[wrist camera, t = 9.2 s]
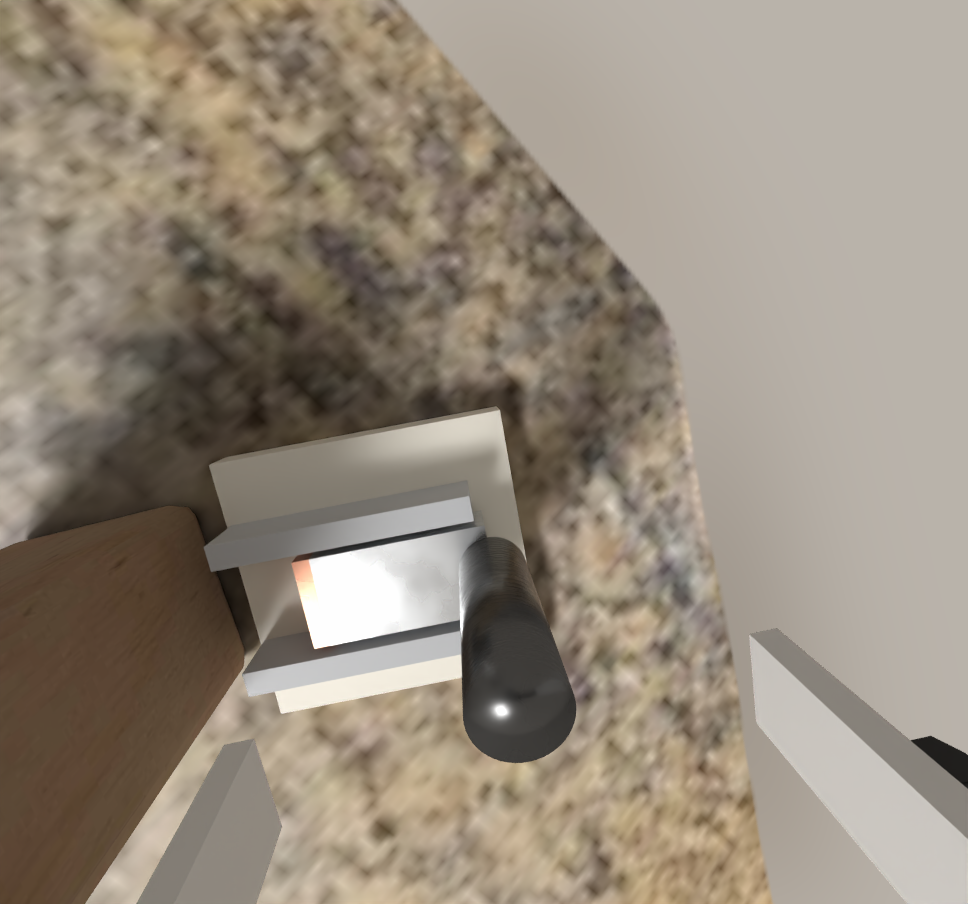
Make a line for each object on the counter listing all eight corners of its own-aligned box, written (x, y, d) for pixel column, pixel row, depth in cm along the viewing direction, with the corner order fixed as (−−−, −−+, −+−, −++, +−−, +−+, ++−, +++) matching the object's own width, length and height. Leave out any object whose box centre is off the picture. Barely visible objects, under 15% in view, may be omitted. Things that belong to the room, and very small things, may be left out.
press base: (226, 457, 27) (177, 479, 22) (496, 406, 28) (505, 417, 23) (292, 690, 30) (261, 755, 25) (538, 641, 30) (554, 696, 26)
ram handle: (305, 544, 26) (178, 708, 14) (512, 504, 26) (563, 631, 14) (326, 623, 27) (222, 843, 15) (526, 583, 27) (586, 768, 15)
